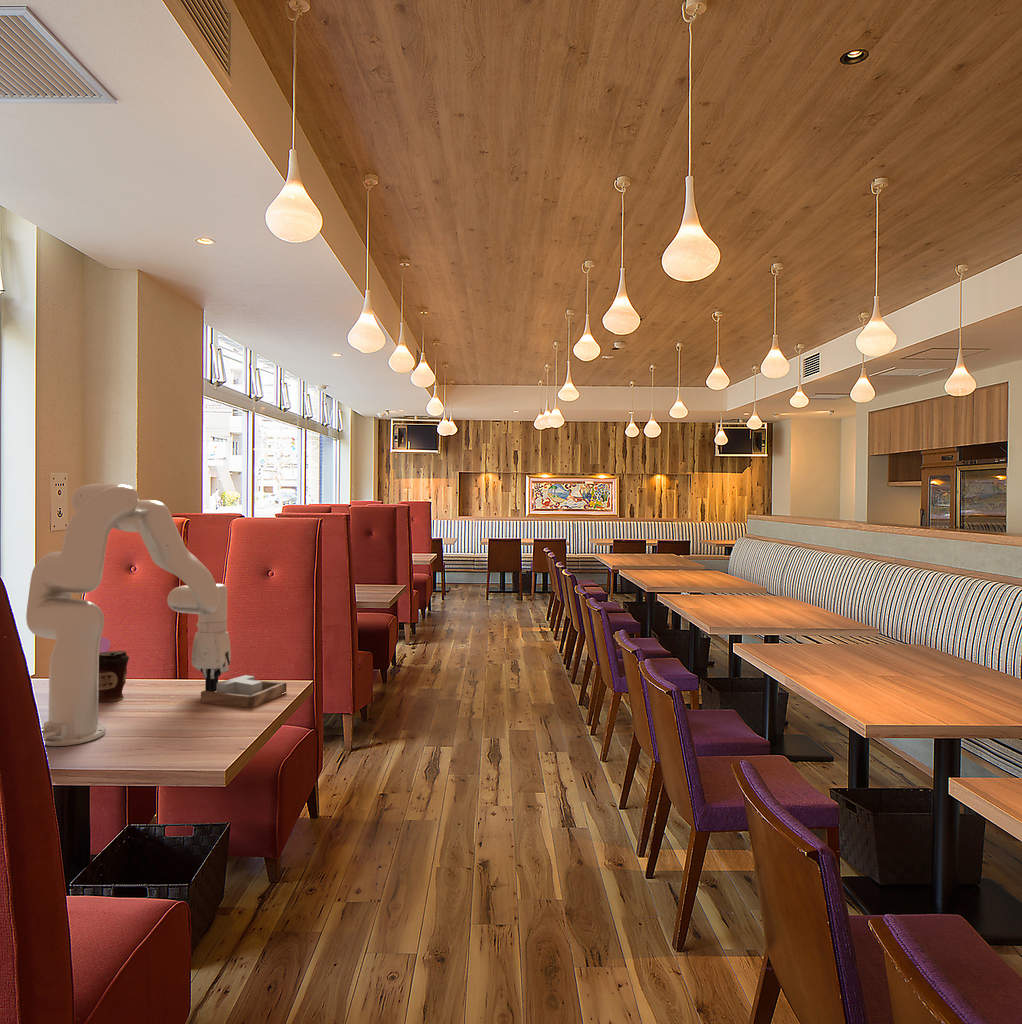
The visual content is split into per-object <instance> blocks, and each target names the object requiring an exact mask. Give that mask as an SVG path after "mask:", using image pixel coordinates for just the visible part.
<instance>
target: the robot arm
mask: <svg viewBox="0 0 1022 1024" xmlns="http://www.w3.org/2000/svg"><path fill="white" fill-rule="evenodd" d="M71 506H72V509H73V510H74V513H73V514H72V515H71V517H70V519H69V521H68V523H67V525H66V527H65V532H64V537H63V543H62V547H61V551H52V552H48V553H46V554H45V555H43V556H42V557H40V558H39V560H38V561H37V562H36V564H35V565H34V567H33V569H32V572H31V578H30V582H29V590H28V597H27V604H26V605H27V606H26V612H25V613H26V615H25V617H26V618H25V620H26V625H27V628H28V630H29V631H30V632H31V633H32V634H33V635H35V636H37V637H39V638H42V639H48V640H49V639H50V640H55V643H54V646H53V648H52V651H51V654H50V657H49V662H48V721H45V722H44V723H43V726H42V727H41V728H40V729H42V733H43V738H44V741H45V745H44V746H47V747H48V746H49V747H65V746H66V747H67V746H74V745H78V744H84V743H88V742H91V741H94V740H96V739H99V738H101V737H102V736H104V735H105V734H106V731H107V728H106V726H105V725H103V724H99V701H98V696H99V648H100V641H101V637H102V635H103V631H104V627H105V626H104V625H105V616H104V613H103V611H102V609H101V608H100V606H98V605H97V604H96V603H94V602H91V601H89V600H85V599H79V598H78V599H77V598H72V596H73V594H87V593H91V592H92V593H93V591H95V590H97V589H98V587H99V586H100V585H101V583H102V579H103V576H104V575H103V574H104V567H105V559H106V552H107V550H106V549H107V545H108V540H109V539H108V538H109V535H110V532H111V530H112V529H115V530H119V531H123V532H125V533H127V532H128V533H139V535H140V537H141V539H142V542H143V543H144V546H145V547H146V549H147V552H148V554H149V557H150V558H151V560H152V562H153V563H154V564H155V565H156V566H157V567H159V568H161V569H163V570H164V571H167V572H168V573H170V574H172V575H174V576H176V577H177V578H179V579H180V580H181V581H182V582H183V583H184V584H186V585H180V586H177V587H175V588H172V590H170V592H169V593H168V595H167V598H166V599H167V601H166V602H167V605H168V607H169V609H171V610H172V611H174V612H176V613H180V614H193V615H194V614H195V615H197V617H198V619H197V622H196V624H195V625H196V627H197V631H196V632H195V633H194V638H193V641H192V642H193V644H192V650H191V651H192V652H191V665H192V667H194V668H195V670H196V671H199V672H201V674H202V676H203V678H204V679H205V684H204V686H205V689H204V691H212V692H217V683H218V682H219V678H220V676H221V675H222V674H224V673H227V672H229V671H230V667H229V666H230V665H231V661H232V659H231V658H232V657H231V655H232V652H231V651H232V650H231V649H232V648H231V641H230V634H229V632H228V587H227V586H226V585H225V584H223V583H216V580H215V578H214V577H213V574H212V573H211V572H210V570H209V568H208V567H206V566H205V565H204V563H202V562H201V561H200V560H199V559H198V558H197V557H196V556H195V555H194V554H193V553H192V552H190V551H189V549H187V547H186V545H185V543H184V540H183V538H182V536H181V534H180V532H179V529H178V527H177V526H176V523H175V520H174V518H173V516H172V514H171V512H170V510H169V508H168V507H167V505H166V504H165V503H163V502H161V501H159V500H154V499H139V493H138V491H137V490H136V489H135V488H134V487H132V486H131V485H129V484H128V485H127V484H123V483H90V484H84V485H81V486H80V487H77V488H76V489H75V490H74V492H73V493H72V495H71Z"/></svg>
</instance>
